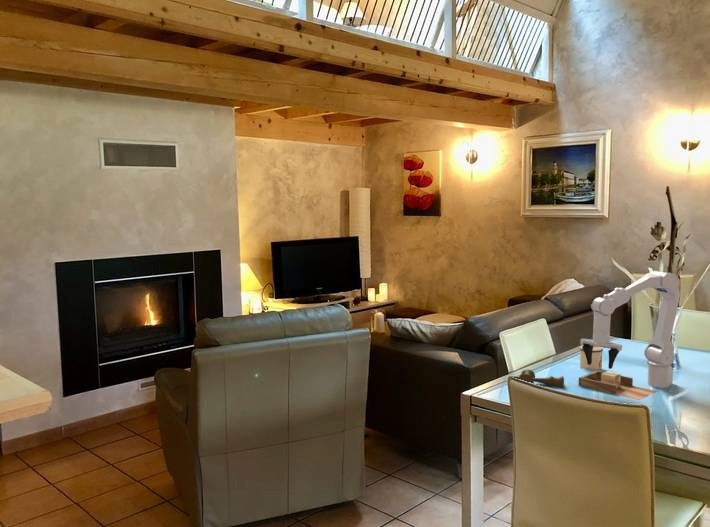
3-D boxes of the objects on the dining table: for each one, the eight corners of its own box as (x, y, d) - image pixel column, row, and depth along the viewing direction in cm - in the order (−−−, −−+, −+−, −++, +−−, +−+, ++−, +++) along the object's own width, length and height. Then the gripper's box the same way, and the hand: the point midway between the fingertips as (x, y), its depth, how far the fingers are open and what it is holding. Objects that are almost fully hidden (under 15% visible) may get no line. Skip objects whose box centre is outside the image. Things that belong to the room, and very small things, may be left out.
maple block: (607, 383, 225) (607, 371, 224) (620, 386, 221) (620, 373, 220) (600, 386, 222) (601, 373, 221) (613, 389, 218) (614, 376, 217)
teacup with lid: (604, 372, 244) (605, 344, 243) (581, 371, 246) (581, 343, 245) (599, 364, 255) (599, 338, 254) (577, 363, 258) (577, 337, 256)
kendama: (563, 394, 219) (508, 387, 226) (564, 387, 228) (511, 381, 235) (563, 378, 218) (508, 372, 226) (565, 372, 227) (512, 366, 235)
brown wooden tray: (597, 380, 233) (597, 370, 232) (657, 393, 215) (657, 383, 215) (578, 387, 224) (578, 377, 223) (639, 402, 206) (639, 391, 206)
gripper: (577, 329, 219) (576, 364, 220) (618, 334, 209) (616, 372, 210) (585, 326, 224) (583, 361, 225) (624, 331, 214) (623, 368, 216)
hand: (599, 366), depth 218 cm, fingers open, 7 cm apart
